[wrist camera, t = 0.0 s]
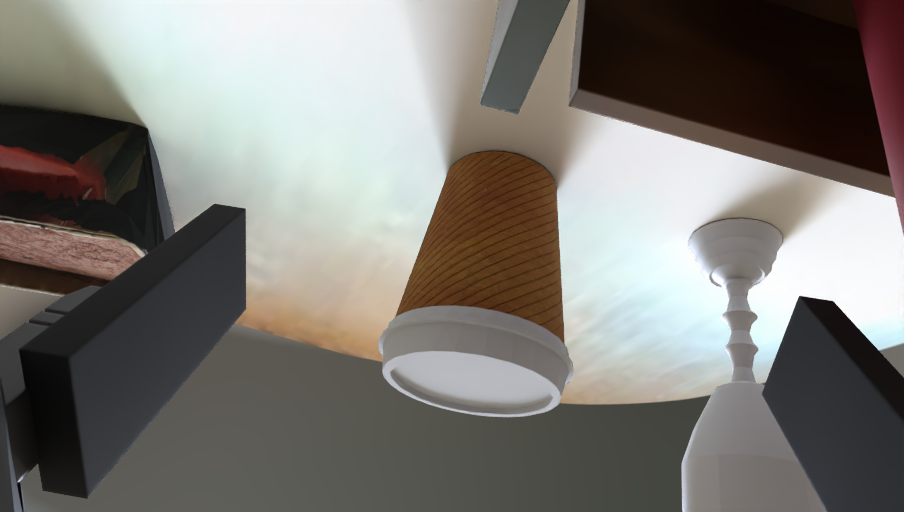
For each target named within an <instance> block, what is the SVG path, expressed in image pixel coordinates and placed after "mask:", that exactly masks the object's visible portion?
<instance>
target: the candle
mask: <svg viewBox="0 0 904 512" xmlns="http://www.w3.org/2000/svg"><path fill="white" fill-rule="evenodd" d="M852 3H853V7H854V12H855V16H856V21H857V25H858V30H859V34H860V39H861V44H862V48H863V53H864V57H865V62H866V66H867V71H868V75H869V80H870V84H871V89H872V93H873V98H874V103H875V107H876V112H877V116H878V121H879V125H880V130H881V134H882V139H883V143H884V148H885V153H886V157H887V162H888V166H889V171H890V175H891V180H892V184H893V189H894V193H895V198H896V202H897V207H898V212H899V216H900V221H901V225H902V230H903V234H904V0H852Z"/></svg>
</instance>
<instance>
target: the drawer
mask: <svg viewBox="0 0 904 512" xmlns="http://www.w3.org/2000/svg"><path fill="white" fill-rule="evenodd" d="M569 1H570V0H499V4H498V9H497V14H496V20H495V25H494V30H493V36H492V41H491V46H490V52H489V57H488V63H487V68H486V73H485V79H484V84H483V89H482V95H481V100H480V104H481V105H484V106H488V107H491V108H495V109H498V110H502V111H506V112H509V113H513V114H518V113H519V111H520V109H521V106H522V104H523V102H524V100H525V98H526V96H527V93H528V91H529V89H530V87H531V85H532V82H533V80H534V78H535V76H536V74H537V71H538V69H539V67H540V65H541V63H542V60H543V58H544V56H545V54H546V52H547V49H548V47H549V45H550V43H551V41H552V38H553V36H554V34H555V32H556V30H557V28H558V25H559V23H560V21H561V19H562V17H563V14H564V12H565V10H566V8H567V6H568V3H569ZM569 106H570V107H573V108H577V109H580V110H584V111H587V112H591V113H595V114H598V115H602V116H605V117H609V118H612V119H616V120H620V121H623V122H627V123H630V124H634V125H637V126H641V127H645V128H648V129H652V130H655V131H659V132H662V133H666V134H670V135H673V136H677V137H680V138H684V139H687V140H691V141H695V142H698V143H702V144H705V145H709V146H712V147H716V148H720V149H723V150H727V151H730V152H734V153H737V154H741V155H745V156H748V157H752V158H755V159H759V160H762V161H766V162H770V163H773V164H777V165H780V166H784V167H787V168H791V169H795V170H798V171H802V172H805V173H809V174H812V175H816V176H819V177H823V178H827V179H830V180H834V181H837V182H841V183H844V184H848V185H852V186H855V187H859V188H862V189H866V190H869V191H873V192H877V193H880V194H884V195H887V196H891V197H894V198H895V193H894V189H893V184H892V180H891V175H890V171H889V166H888V162H887V157H886V153H885V148H884V143H883V139H882V134H881V130H880V125H879V121H878V116H877V112H876V107H875V103H874V98H873V93H872V89H871V84H870V80H869V75H868V71H867V66H866V62H865V57H864V53H863V48H862V44H861V39H860V34H859V30H858V25H857V21H856V16H855V12H854V7H853V3H852V0H579V1H578V11H577V22H576V32H575V43H574V53H573V64H572V74H571V85H570V95H569Z"/></svg>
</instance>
